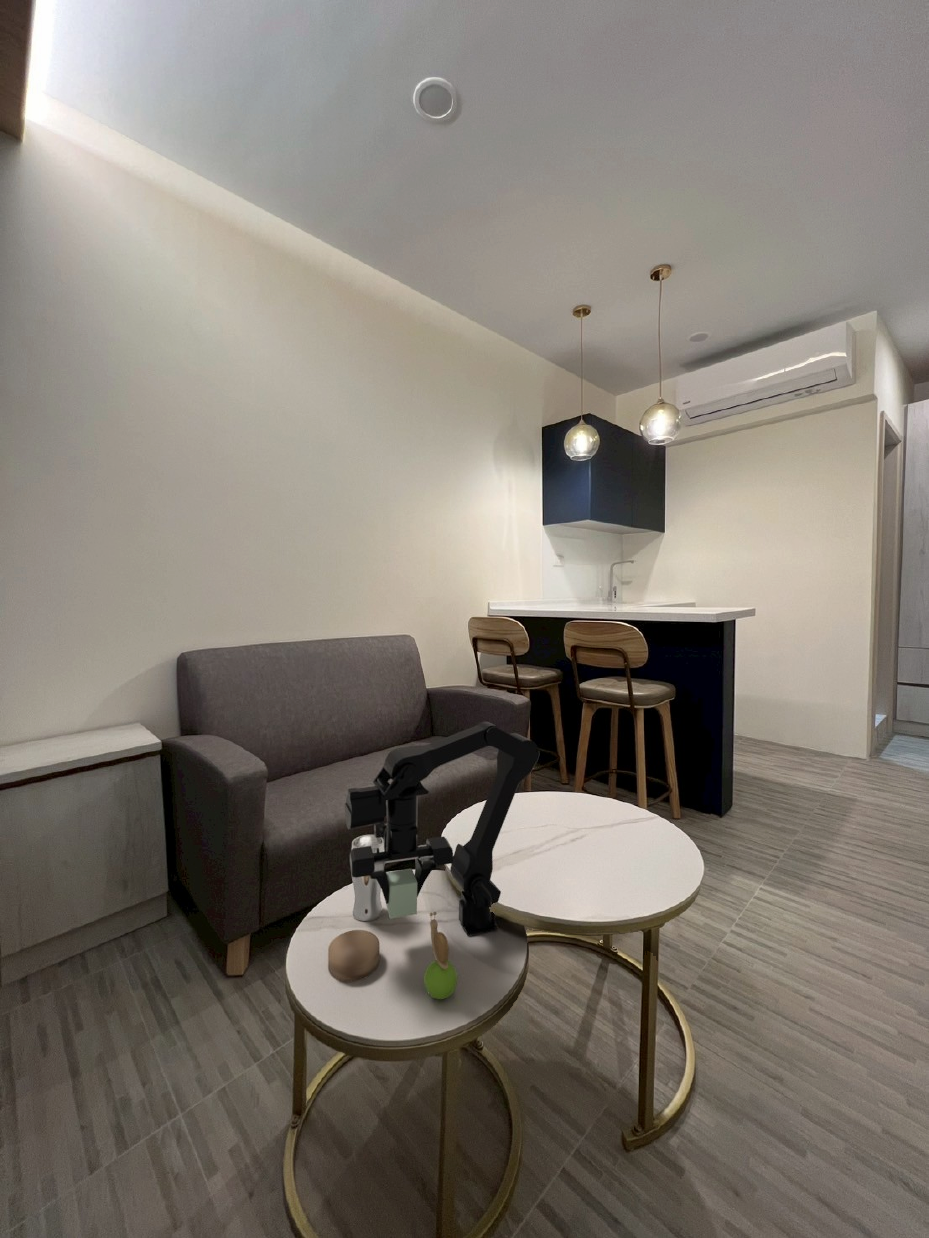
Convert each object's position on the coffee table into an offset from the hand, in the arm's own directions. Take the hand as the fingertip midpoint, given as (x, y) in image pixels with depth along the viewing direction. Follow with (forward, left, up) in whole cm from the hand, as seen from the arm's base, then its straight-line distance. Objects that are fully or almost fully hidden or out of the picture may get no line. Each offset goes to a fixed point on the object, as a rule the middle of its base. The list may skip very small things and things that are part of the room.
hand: (401, 900), depth 94 cm
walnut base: (+9, +2, -9) cm, 13 cm away
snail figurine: (-4, +13, -9) cm, 16 cm away
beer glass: (+5, -12, -9) cm, 16 cm away
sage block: (0, 0, -2) cm, 2 cm away
